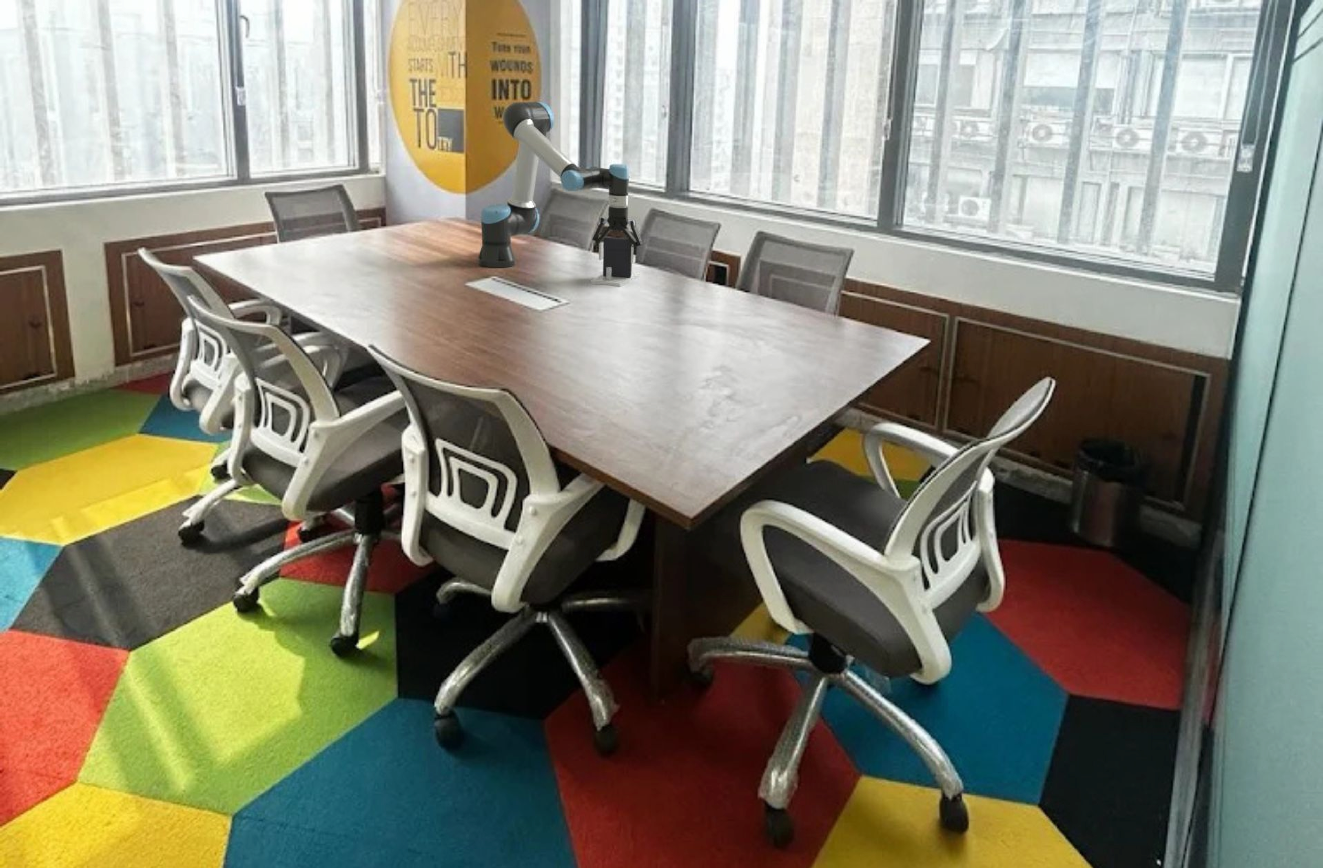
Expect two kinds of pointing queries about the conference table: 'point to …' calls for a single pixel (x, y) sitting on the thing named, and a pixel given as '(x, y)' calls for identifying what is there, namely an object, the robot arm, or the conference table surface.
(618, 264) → the calculator
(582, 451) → the conference table surface
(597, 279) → the white peg stand
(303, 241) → the conference table surface
